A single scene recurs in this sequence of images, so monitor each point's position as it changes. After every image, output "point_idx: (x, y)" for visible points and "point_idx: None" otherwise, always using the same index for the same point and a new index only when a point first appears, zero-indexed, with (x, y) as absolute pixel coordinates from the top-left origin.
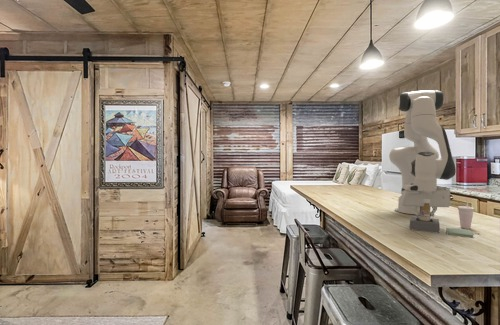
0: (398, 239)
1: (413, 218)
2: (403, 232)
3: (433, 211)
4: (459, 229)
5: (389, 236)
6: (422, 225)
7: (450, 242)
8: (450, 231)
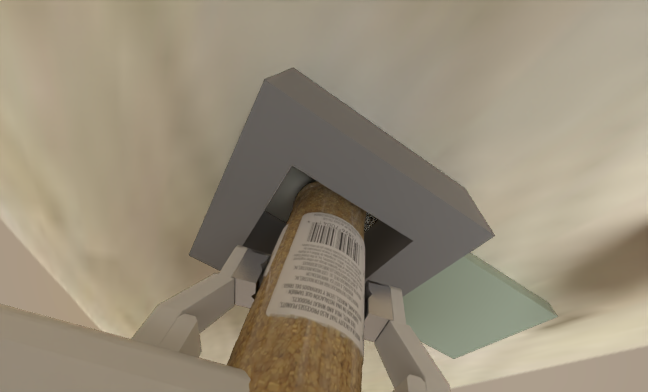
0: (141, 308)
1: (245, 190)
2: (173, 250)
3: (382, 360)
4: (502, 298)
5: (110, 282)
6: None
7: None
8: None
